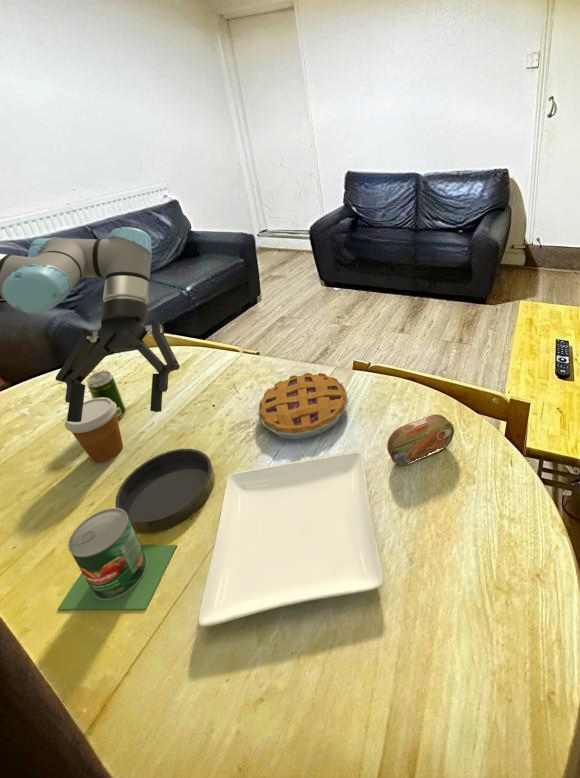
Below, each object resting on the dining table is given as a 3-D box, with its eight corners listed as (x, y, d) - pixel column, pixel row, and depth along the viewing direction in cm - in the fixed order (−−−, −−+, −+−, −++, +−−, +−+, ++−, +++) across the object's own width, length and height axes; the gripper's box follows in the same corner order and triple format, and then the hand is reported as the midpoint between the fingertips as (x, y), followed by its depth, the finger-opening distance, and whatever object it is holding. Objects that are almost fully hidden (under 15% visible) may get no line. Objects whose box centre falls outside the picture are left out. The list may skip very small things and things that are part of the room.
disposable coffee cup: (77, 474, 88) (56, 431, 83) (88, 444, 96) (69, 403, 91) (127, 460, 91) (110, 417, 86) (134, 431, 99) (118, 391, 94)
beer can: (131, 412, 106) (116, 373, 101) (110, 425, 101) (94, 386, 96) (118, 406, 108) (103, 368, 103) (97, 419, 104) (80, 380, 99)
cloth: (57, 610, 64) (57, 608, 64) (99, 546, 73) (99, 545, 73) (145, 609, 63) (145, 608, 63) (177, 546, 72) (176, 544, 72)
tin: (392, 471, 85) (390, 440, 82) (386, 460, 88) (384, 430, 84) (454, 446, 90) (455, 416, 87) (446, 437, 93) (447, 407, 89)
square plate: (363, 461, 88) (361, 447, 86) (385, 600, 63) (384, 584, 61) (231, 484, 84) (227, 470, 82) (200, 641, 59) (194, 625, 58)
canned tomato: (145, 542, 73) (126, 499, 68) (149, 581, 67) (129, 536, 62) (92, 568, 69) (69, 524, 65) (92, 612, 63) (66, 566, 59)
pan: (99, 533, 75) (94, 522, 74) (150, 459, 91) (146, 449, 90) (192, 533, 75) (188, 521, 73) (227, 458, 90) (224, 447, 89)
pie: (336, 376, 116) (334, 361, 113) (360, 428, 97) (358, 411, 95) (256, 397, 109) (253, 381, 107) (265, 456, 90) (261, 439, 88)
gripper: (199, 303, 85) (196, 408, 78) (69, 316, 82) (53, 427, 75) (185, 290, 78) (180, 404, 71) (43, 303, 75) (22, 424, 68)
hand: (115, 416), depth 73 cm, fingers open, 13 cm apart
